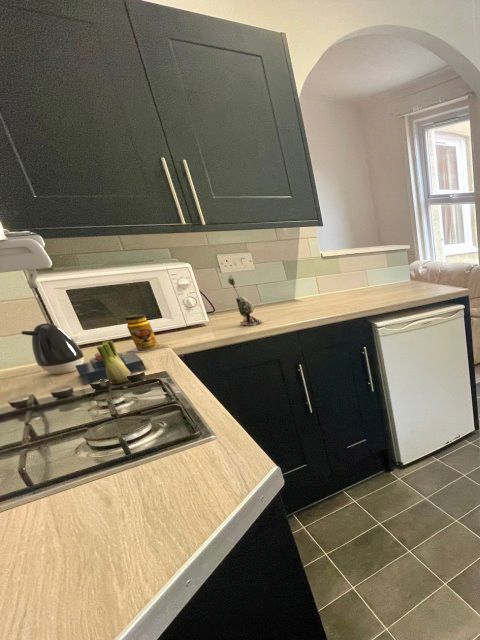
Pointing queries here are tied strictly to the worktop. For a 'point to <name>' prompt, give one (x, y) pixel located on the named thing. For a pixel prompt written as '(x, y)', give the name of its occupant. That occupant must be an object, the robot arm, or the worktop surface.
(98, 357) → the jug button
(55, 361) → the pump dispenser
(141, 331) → the condiment
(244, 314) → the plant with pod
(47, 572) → the worktop surface
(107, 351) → the fennel bulb
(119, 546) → the worktop surface
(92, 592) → the worktop surface
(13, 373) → the worktop surface
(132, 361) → the blue jug base
